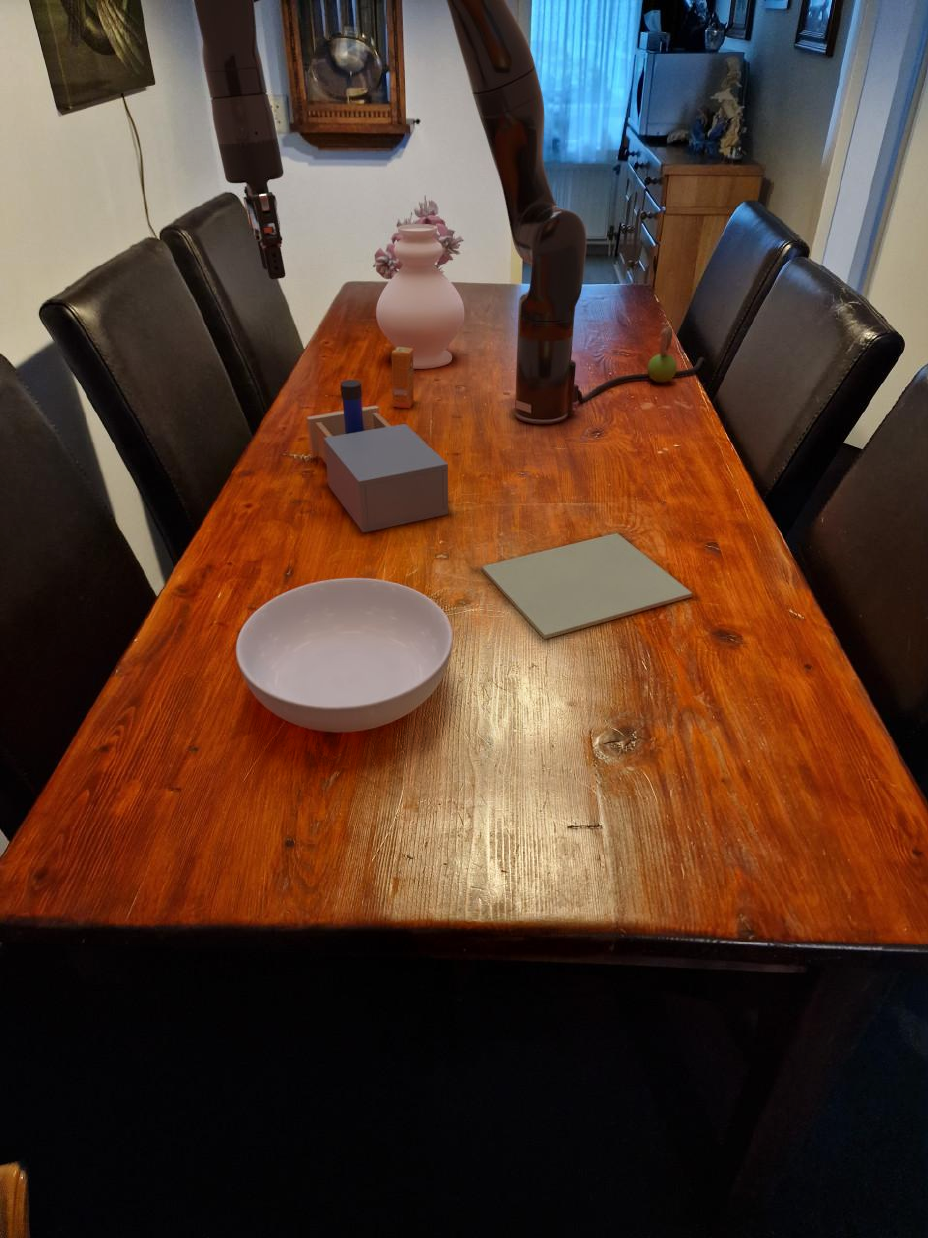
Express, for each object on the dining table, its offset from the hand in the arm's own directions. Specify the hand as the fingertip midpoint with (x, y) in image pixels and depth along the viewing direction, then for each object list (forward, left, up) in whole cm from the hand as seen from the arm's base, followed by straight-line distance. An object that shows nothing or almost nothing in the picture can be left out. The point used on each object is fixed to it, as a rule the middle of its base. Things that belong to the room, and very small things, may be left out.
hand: (274, 273), depth 113 cm
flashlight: (-8, +6, -26) cm, 28 cm away
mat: (-22, +50, -28) cm, 61 cm away
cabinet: (-8, +19, -28) cm, 35 cm away
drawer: (-8, +5, -27) cm, 28 cm away
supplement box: (-24, -15, -28) cm, 40 cm away
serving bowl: (+10, +57, -28) cm, 64 cm away
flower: (-49, -70, -28) cm, 90 cm away
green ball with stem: (-73, -5, -28) cm, 78 cm away
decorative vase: (-37, -38, -28) cm, 60 cm away
